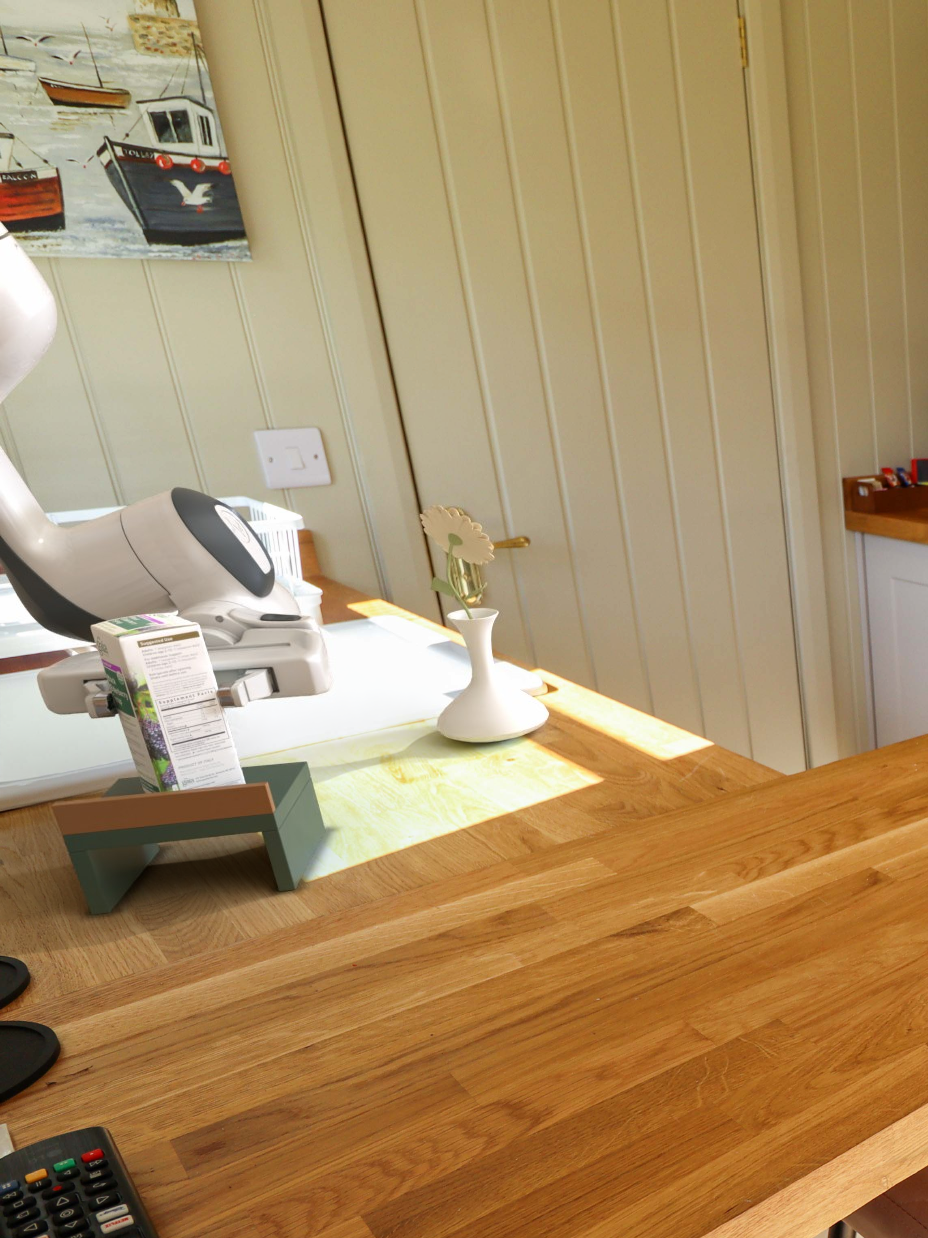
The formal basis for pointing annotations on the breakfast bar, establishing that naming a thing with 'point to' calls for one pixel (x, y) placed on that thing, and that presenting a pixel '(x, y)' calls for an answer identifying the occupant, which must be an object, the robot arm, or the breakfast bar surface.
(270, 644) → the robot arm
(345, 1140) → the breakfast bar surface
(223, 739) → the syrup box
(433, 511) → the flower in vase
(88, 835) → the shelf
